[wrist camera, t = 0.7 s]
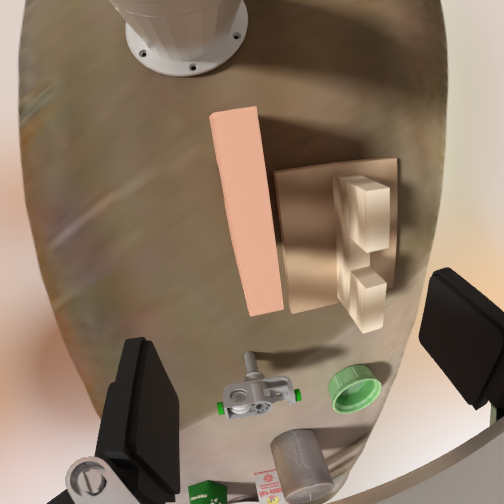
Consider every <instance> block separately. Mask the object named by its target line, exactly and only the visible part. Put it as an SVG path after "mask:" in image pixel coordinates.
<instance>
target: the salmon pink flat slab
mask: <svg viewBox="0 0 504 504" xmlns="http://www.w3.org/2000/svg"><path fill="white" fill-rule="evenodd" d="M209 119H210V125H211V130H212V136H213V142H214V147H215V153H216V159H217V163H218V167H219V171H220V177H221V182H222V188H223V193H224V203H225V208H226V213H227V219H228V224H229V229H230V235H231V240H232V244H233V248H234V253H235V257H236V261H237V265H238V269H239V273H240V278H241V282H242V286H243V290H244V294H245V298H246V302H247V306H248V310H249V314H250V317H251V316H255V315H260V314H265V313H269V312H274V311H278V310H283V309H284V307H283V298H282V290H281V282H280V274H279V266H278V258H277V250H276V242H275V234H274V227H273V219H272V212H271V204H270V197H269V190H268V183H267V176H266V169H265V162H264V155H263V148H262V141H261V135H260V128H259V122H258V115H257V109H256V106H254V107H247V108H240V109H234V110H228V111H222V112H216V113H212V114H211V115H210V116H209Z"/></svg>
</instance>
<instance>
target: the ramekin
mask: <svg viewBox="0 0 504 504" xmlns="http://www.w3.org/2000/svg"><path fill="white" fill-rule="evenodd" d="M381 388H382V385H381V382H380V381H379V380H378V379H377V378H376V377H375V376H374V375H373V373H372V372H371V371H370V369H369V368H368V367H366V366H364V365H353V366H350V367H347V368H345V369H343V370H341V371H340V372H338V373H337V374H336V375H335V376H334V377H333V378H332V380H331V381H330V383H329V393H330V396H331V399H332V405H333V408H334V410H335V411H336V412H338V413H342V414H347V413H353V412H356V411H359V410H361V409H363V408H365V407H366V406H368V405H369V404H371V403H372V402H373V401H374V400H375V399H376V398H377V397H378V395H379V394H380V392H381Z"/></svg>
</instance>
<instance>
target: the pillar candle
mask: <svg viewBox="0 0 504 504" xmlns="http://www.w3.org/2000/svg"><path fill="white" fill-rule="evenodd" d="M270 446H271V450H272V454H273V458H274V462H275V466H276V470H277V474H278V478H279V481H280V485H281V489H282V492H283V495H284V499H285V501H286V502H288V503H303V502H308V501H312V500H315V499H318V498H320V497H322V496H324V495H326V494H328V493H329V492H331V491H332V490H333V489H334V488H335V484H334V483H333V480H332V477H331V475H330V472H329V469H328V467H327V464H326V461H325V459H324V456H323V453H322V451H321V448H320V445H319V443H318V440H317V438H316V435H315V433H314V432H313V431H312V430H304V429H296V430H291V431H288V432H285V433H283V434H281V435H279V436H278V437H276V438H275V439H274V440H273V441H272V443H271V445H270Z"/></svg>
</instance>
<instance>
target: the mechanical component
mask: <svg viewBox="0 0 504 504" xmlns="http://www.w3.org/2000/svg"><path fill="white" fill-rule="evenodd" d="M244 358H245V365H246V368H247V375H246V376H245V379H244V380H245V382H241V383H234V384H229V385H227V386H226V387H225V388H224V389H223V396H224V397H223V403H222V402H219V403H217V408H218V413H219V415H221V414H224V411H225V414H226V418H227V420H229V419H236V418H243V417H250V416H256V415H264V414H267V413H269V412H270V411H271V410H272V403H274V402H276V401H281V400H288V402H289V404H290V405H294V404H295V403H296V402H297V401H301V393H300V390H299V389H296V390H294V389H293V386H292V383H291V380H290V379H289V378H288V377H286V376H276V377H271V378H265V379H264V375H263V374H262V373H260V372H259V371H258V368H257V364H256V363H257V362H256V359H255V355H254V353H253V352H246V353H245V355H244ZM277 393H281V394H280V395H276V394H277Z"/></svg>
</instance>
